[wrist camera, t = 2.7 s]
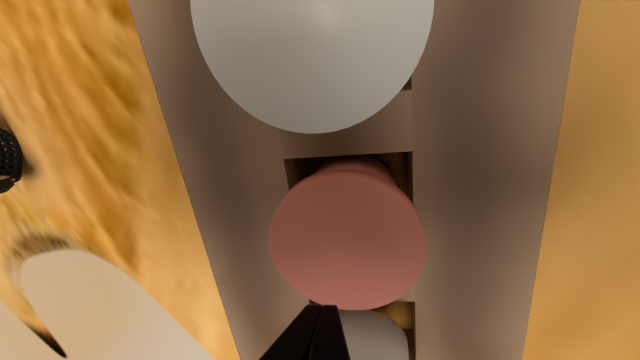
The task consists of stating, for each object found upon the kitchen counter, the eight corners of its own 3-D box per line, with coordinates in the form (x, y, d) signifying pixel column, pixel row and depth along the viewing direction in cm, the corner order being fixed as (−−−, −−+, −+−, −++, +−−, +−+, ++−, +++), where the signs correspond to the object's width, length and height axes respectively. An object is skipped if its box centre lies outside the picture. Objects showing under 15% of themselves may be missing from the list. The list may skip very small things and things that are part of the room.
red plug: (415, 136, 14) (426, 174, 10) (416, 249, 16) (426, 313, 12) (286, 145, 15) (254, 182, 11) (303, 249, 17) (282, 307, 13)
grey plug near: (416, -103, 9) (436, -188, 6) (418, 96, 12) (433, 124, 8) (235, -64, 11) (157, -113, 7) (267, 110, 13) (222, 141, 9)
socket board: (555, -145, 11) (613, -204, 8) (496, 352, 20) (514, 402, 17) (158, -55, 14) (103, -77, 11) (262, 337, 23) (246, 378, 20)
